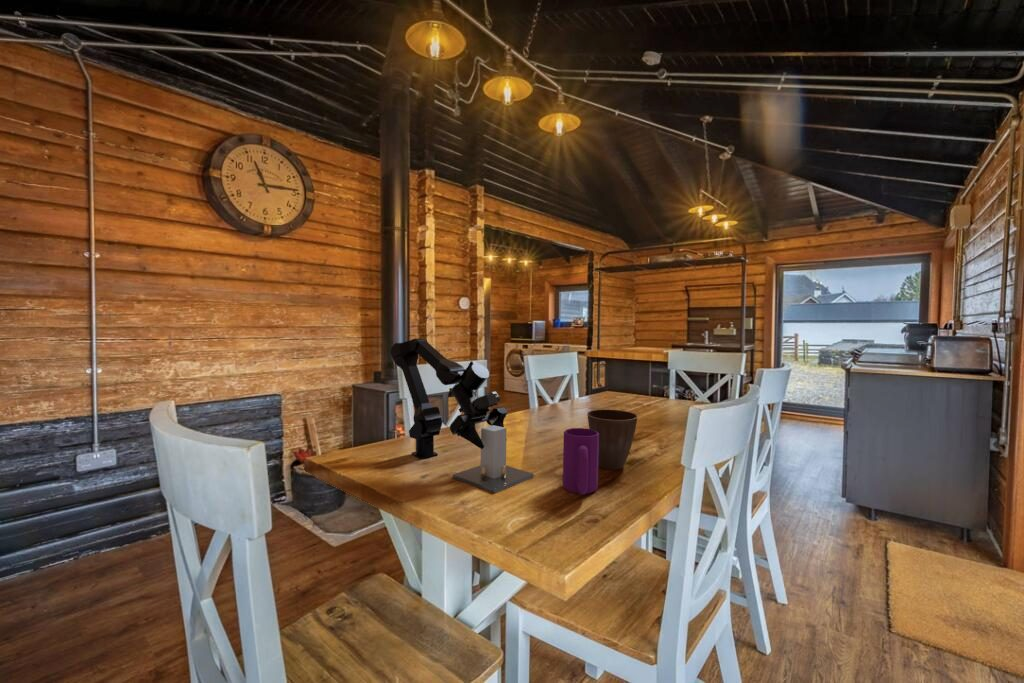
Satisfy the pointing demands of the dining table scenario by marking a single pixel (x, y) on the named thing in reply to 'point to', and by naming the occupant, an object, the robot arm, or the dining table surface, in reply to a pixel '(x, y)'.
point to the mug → (580, 460)
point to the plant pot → (613, 436)
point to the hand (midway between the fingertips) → (494, 444)
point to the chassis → (495, 485)
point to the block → (493, 450)
